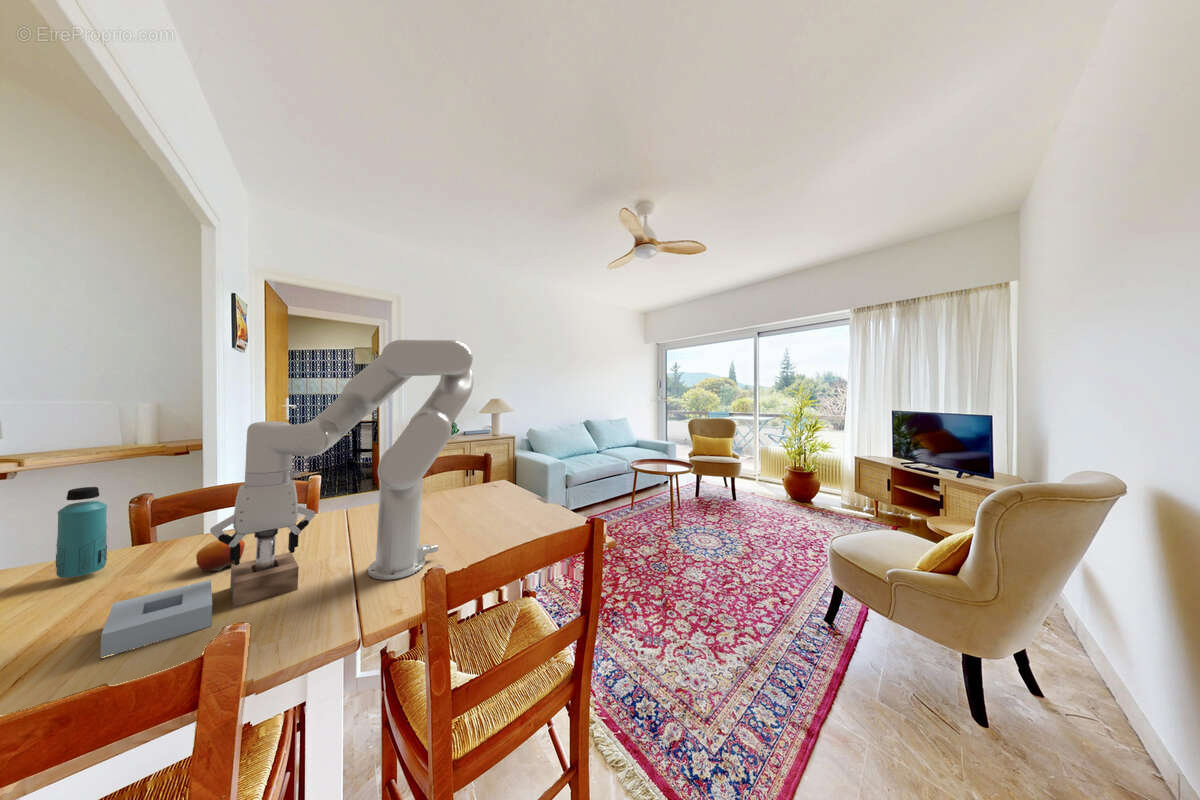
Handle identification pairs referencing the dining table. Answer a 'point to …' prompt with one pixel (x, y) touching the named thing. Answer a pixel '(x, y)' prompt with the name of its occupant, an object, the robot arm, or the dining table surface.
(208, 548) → the fruit
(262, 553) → the pin
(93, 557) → the beverage bottle
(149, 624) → the dock
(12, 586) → the dining table surface
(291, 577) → the block
